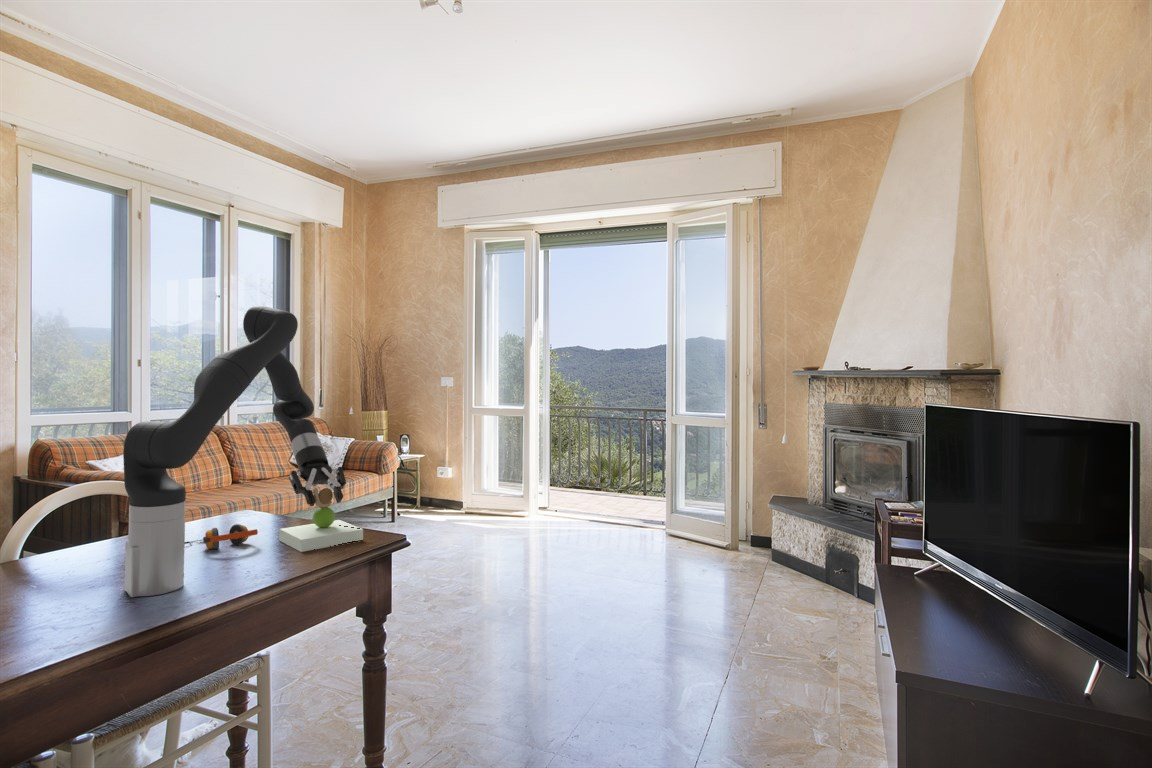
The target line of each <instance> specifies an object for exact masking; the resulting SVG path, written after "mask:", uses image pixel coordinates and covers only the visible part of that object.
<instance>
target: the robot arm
mask: <svg viewBox="0 0 1152 768" xmlns="http://www.w3.org/2000/svg"><path fill="white" fill-rule="evenodd" d="M242 326H243V331H244V332H243V333H244V334H245V337H246V339H247V340H248V343H246V344H243V345H240V346H238V347H235V348H232V349H229V350H227V351H224V352H223V353H220V354H218V355H217V356H215V357H214V358H213V359H212V360H211V361H210V362H209V363H207V365H206V366H205V367H204V368H203V369H202V370H201V371H200V373H199V374H198V375H197V377H196V378H195V381H194V386H193V402H192V404H190V406H189V407H188V408H187V409H186V410H185V411H184V413H183V414H182V415H181V416H180V417H178V418H177V419H175V420H174V421H171V422H170V421H154V420H153V421H140V422H137V423H136V424H134V425H133V426H132V427H131V428H130V429H129V430H128V431H127V433H126V435H125V438H124V443H123V453H122V454H123V459H122V460H123V475H124V478H123V479H124V482H123V483H124V489H125V491H126V493H127V495H128V503H129V504H128V505H129V506H128V538H127V540H128V541H126V542H125V553H124V554H125V557H124V560H125V561H124V591H125V592H126V593H127V595H128V596H129V598H136V597H152V596H158V595H163V594H167V593H170V592H174V591H177V590H179V589H181V588H182V587H183V586H184V581H185V580H184V579H185V545H186V544H185V542H186V541H185V539H186V538H185V537H186V535H185V534H186V498H187V497H186V496H187V495H186V494H187V493H186V492H187V491H186V488H185V485H182V484H181V483H178V482H177V481H175V480H174V479H173V478H171V476H169V474H168V472H167V470H172V469H173V470H174V469H179V468H181V467H183V466H185V465H187V464H188V463H189V462H191V461H192V459H193V458H194V457H195V455H196V454H197V453H198V451H199V450H200V449H201V447H202V445H203V444H204V442H205V441H206V440H207V438H208V436H209V435H210V434H211V432H212V431H213V429H214V428H215V426H216V425H217V424H218V422H219V421H220V420H221V418H222V417H223V416H224V415H225V414H226V412H227V411H228V410H229V409H230V408H231V406H232V405H233V404H234V402H236V400H238V399H239V398H240V397H241V395H242V394H243V393H244V392H245V391H246V390H247V388H248V387H249V386H250V385H251V383H252V382H253V380H254V379H256V378H257V376H258V375H259V374H260V373H261V371H262V370H263V369H264V370H265V371H266V373H267V376H268V379H269V381H270V383H271V386H272V391H273V393H274V395H275V397H276V398H277V399H278V400H277V401H276V402H275V403H274V404H273V405H272V413H273V416H274V417H275V419H276V420H277V421H278V422H279V424H280V425H281V426H282V427H283V428H284V430H285V431H286V432H287V435H288V438H289V441H290V445H291V448H292V455H293V457H294V460H295V462H296V465H297V467H298V471H296V470H292V471H291V472H290V474H289V477H288V479H289V481H290V485H291V487H292V489H293V491H294V493H295V494H296V495H300V494H301V495H303V496H304V498H305V501H306V504H307V505H309V507H314V506H315V505H316V503H315V498H314V493H313V489H311V488H312V487H313V486H312V485H313V484H314V485H315V484H316V486H317V485H325V486H326V488H329V489H331V491H332V493H333V497H334V498H335V502H336V503H337V504H339V503H341V502H342V501H343V498H344V494H343V491H342V490H343V489H344V488H345V485H346V484H347V480H346V476H345V473H344V468H343V467H342V466H338V467H337V468H332V467H331V466H330V465H329V460H328V456H327V454H326V451H325V449H324V446H323V443H322V441H321V440H320V438H319V436H318V433H317V431H316V428H315V425H314V423H313V422H312V421H311V420H310V419H308V418H309V417H311V416H312V415H313V413H314V410H315V406H314V403H313V401H312V399H311V397H310V396H309V395H308V394H307V393H306V391H305V390H304V389H303V387H302V384H301V381H300V376H299V374H298V371H297V370H296V368H295V366H294V364H292V362H291V361H290V360H289V359H288V358H287V357H286V356H285V355H284V354H283V353H282V351H284V349H286V348H287V347H288V346H289V345H290V344H291V342H292V341H293V339H294V337H295V336H296V334H297V332H298V327H299V322H298V319H297V317H296V315H294V314H293V313H292V312H290V311H287V310H284V309H278V308H275V307H269V306H268V307H267V306H264V305H263V306H262V305H253V306H251V307H250V308H248V310H247V311H246V313H245V314H244V317H243V321H242ZM300 478H301V479H303V480H304V481H305V486H303V483H302V482H301V479H300Z"/></svg>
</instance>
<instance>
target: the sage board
mask: <svg viewBox="0 0 1152 768" xmlns="http://www.w3.org/2000/svg"><path fill="white" fill-rule="evenodd" d="M339 525H341V526H339ZM344 526H348V527H344ZM351 527H354V528H351ZM357 528H360V529H357ZM278 530H279V531H278V533H279V535H278V540H279V541H280V542H281V543H283V544H284V545H287V546H288V547H291V548H292V549H295V550H296V551H298V552H300V553H303V552H308V551H315V550H319V549H320V550H321V549H324V548H330V546H331V547H335V546H334V545H336V546H339V545H338V544H342V543H347V542H352V541H358V540H363V541H364V528H361V527H358V526H356V525H354V524H350V523H348V522H346V521H344V520H340V519H334V522H333V523H332V524H331V525H330V526H328V527H326V528H320V527H318V526H316V525H315V524H314V523H309V524H308V523H307V524H303V525H296V526H289V527H282V528H279V529H278ZM358 542H359V541H358ZM347 544H348V543H347ZM342 545H343V544H342ZM314 549H315V550H314Z"/></svg>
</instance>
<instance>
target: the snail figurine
mask: <svg viewBox="0 0 1152 768" xmlns="http://www.w3.org/2000/svg"><path fill="white" fill-rule="evenodd" d="M311 487H312V492H313V495H314V498H315V505H316V507H318V508H317V509H315V511H314V513H313V515H312V521H313V524H315V525H316V526H318V527H320V528H326V527H328V526H330V525H331V524H332V523H333V522H334V520H336V518H335V517H336V514H335V513H336V512H335V511H334V510H333V509H332V508H331V507H330V506H331V504H332V503H333V501H332V500H333V497H334V493H333V490H332V489H331V488H330V487H324V488H322V489H321V490H320V491H319V488H317V485H316V484H315V485H314V484H313V485H312V486H311Z"/></svg>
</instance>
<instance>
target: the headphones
mask: <svg viewBox="0 0 1152 768" xmlns="http://www.w3.org/2000/svg"><path fill="white" fill-rule="evenodd" d="M258 533H259V531H258V529H251V530H250V529H249V530H248V527H247V526H246V525H242V524H239V523H238V524H237V523H235V524H233V525H232V526H231V527H230V529H229V533H226V534H219V529H218V527H212V529H210V530H207V531H206V532H205V536H203V537H202V539H198V540H196V539H195V540H191V541H185V545H186V544H190V543H193V542H194V543H195V542H200V541H201V542H203V544H205V546H206V548H207V549H213V550H218V549H219V547H220V542H223V541H230V542H231V544H232V545H234V546H240V545H242V544H243V543H245V542H247V540H248V538H249V537H252V536H256V535H258Z"/></svg>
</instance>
